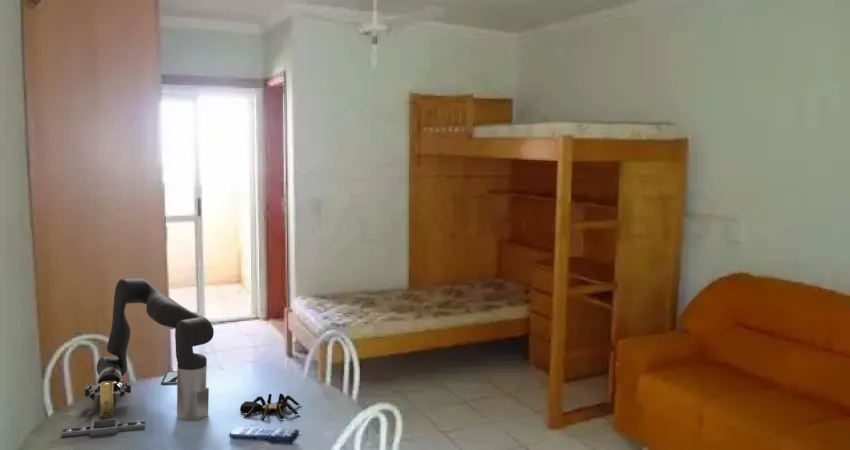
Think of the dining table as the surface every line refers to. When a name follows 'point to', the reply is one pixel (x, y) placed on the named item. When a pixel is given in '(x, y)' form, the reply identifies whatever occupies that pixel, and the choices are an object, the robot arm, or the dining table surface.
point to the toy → (268, 406)
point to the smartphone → (169, 378)
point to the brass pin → (106, 399)
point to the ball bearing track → (103, 431)
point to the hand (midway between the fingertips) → (107, 395)
